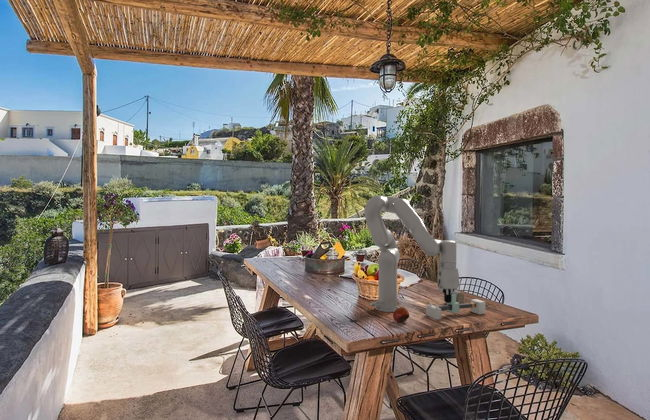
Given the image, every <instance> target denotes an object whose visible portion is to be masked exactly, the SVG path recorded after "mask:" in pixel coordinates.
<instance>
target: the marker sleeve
mask: <svg viewBox="0 0 650 420" xmlns="http://www.w3.org/2000/svg"><path fill="white" fill-rule="evenodd" d="M446 305H452V309H451V310H446V311H447V312H449V313H452V314H454V313H460V309H459V303H458V302H456V295H451V303H447V302H446Z"/></svg>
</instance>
